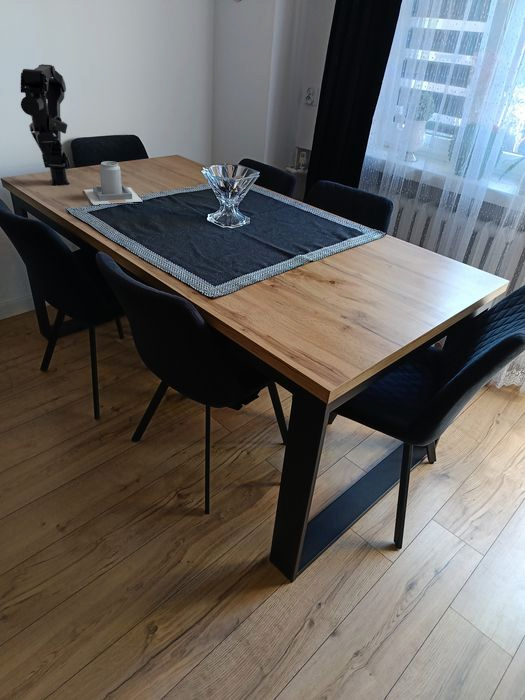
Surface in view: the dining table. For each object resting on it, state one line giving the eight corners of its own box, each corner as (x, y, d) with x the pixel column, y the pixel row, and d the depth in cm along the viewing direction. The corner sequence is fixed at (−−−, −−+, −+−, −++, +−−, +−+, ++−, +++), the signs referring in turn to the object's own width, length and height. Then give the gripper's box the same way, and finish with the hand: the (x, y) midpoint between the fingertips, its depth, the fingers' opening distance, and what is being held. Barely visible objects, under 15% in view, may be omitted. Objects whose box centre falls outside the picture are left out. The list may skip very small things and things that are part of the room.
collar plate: (84, 191, 193) (83, 184, 191) (130, 188, 200) (129, 182, 199) (93, 205, 180) (92, 198, 178) (142, 202, 187) (142, 195, 186)
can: (125, 193, 193) (122, 161, 186) (118, 199, 186) (115, 166, 180) (106, 191, 193) (103, 159, 186) (99, 197, 187) (95, 164, 180)
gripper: (69, 115, 169) (75, 162, 178) (58, 106, 182) (64, 150, 191) (34, 115, 164) (42, 164, 173) (25, 105, 177) (33, 151, 186)
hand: (46, 157), depth 181 cm, fingers open, 9 cm apart
